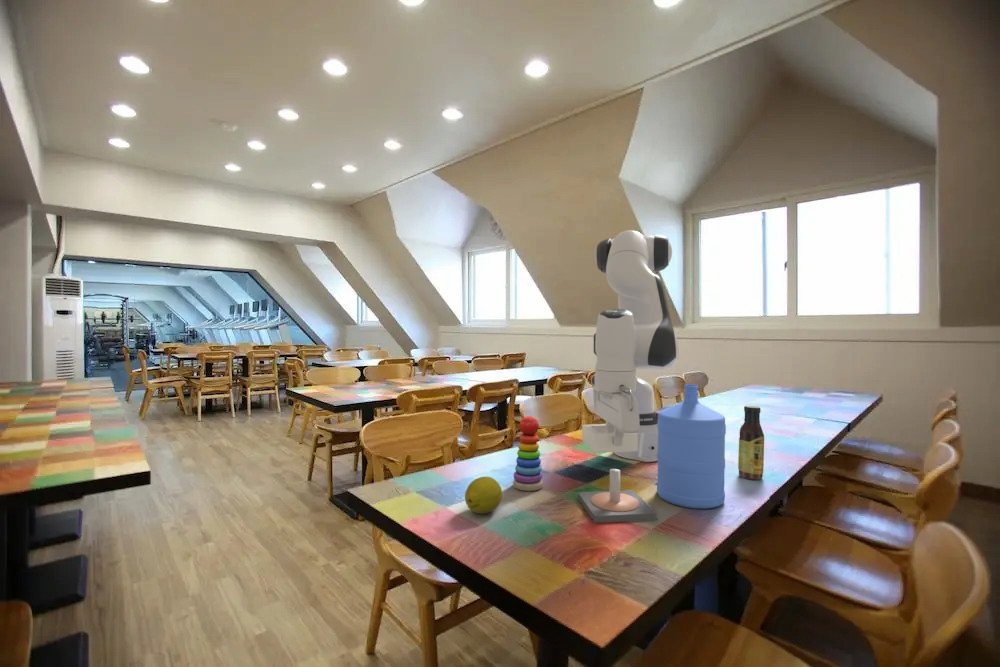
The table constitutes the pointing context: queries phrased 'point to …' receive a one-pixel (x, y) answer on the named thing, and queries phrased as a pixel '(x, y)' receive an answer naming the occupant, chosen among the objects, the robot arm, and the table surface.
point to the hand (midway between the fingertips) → (615, 443)
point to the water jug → (691, 453)
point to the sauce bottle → (751, 445)
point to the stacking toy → (528, 457)
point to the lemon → (483, 495)
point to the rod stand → (615, 503)
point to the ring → (607, 439)
